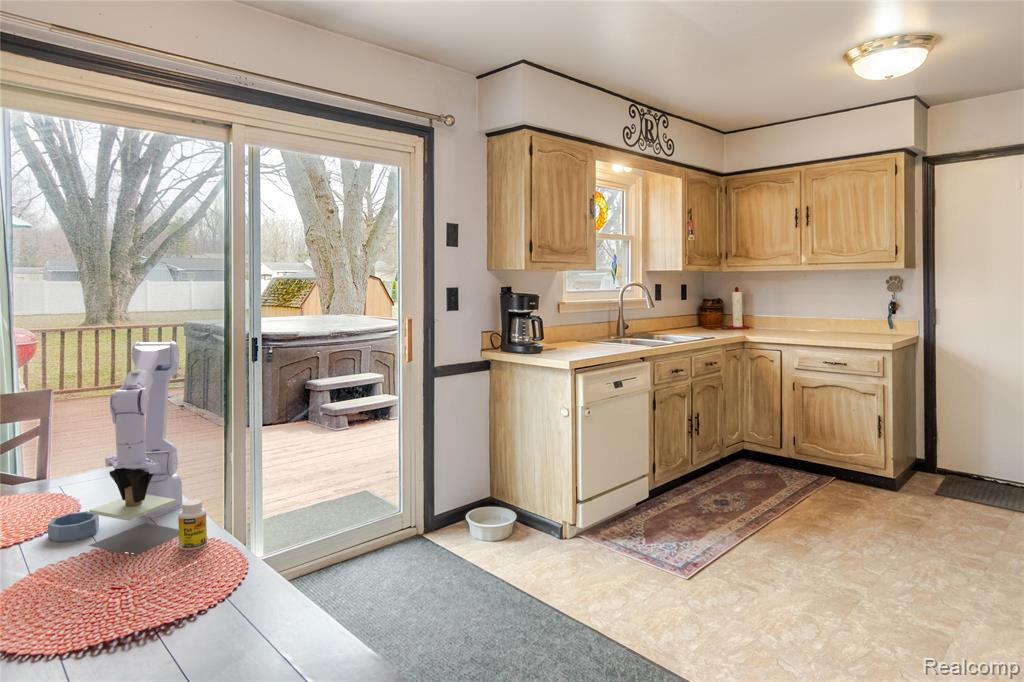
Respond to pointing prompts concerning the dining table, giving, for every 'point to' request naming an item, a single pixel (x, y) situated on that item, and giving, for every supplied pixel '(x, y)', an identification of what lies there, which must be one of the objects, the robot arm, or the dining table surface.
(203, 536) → the supplement bottle
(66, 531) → the bowl
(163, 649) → the dining table surface
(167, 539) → the mat
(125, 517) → the lid
